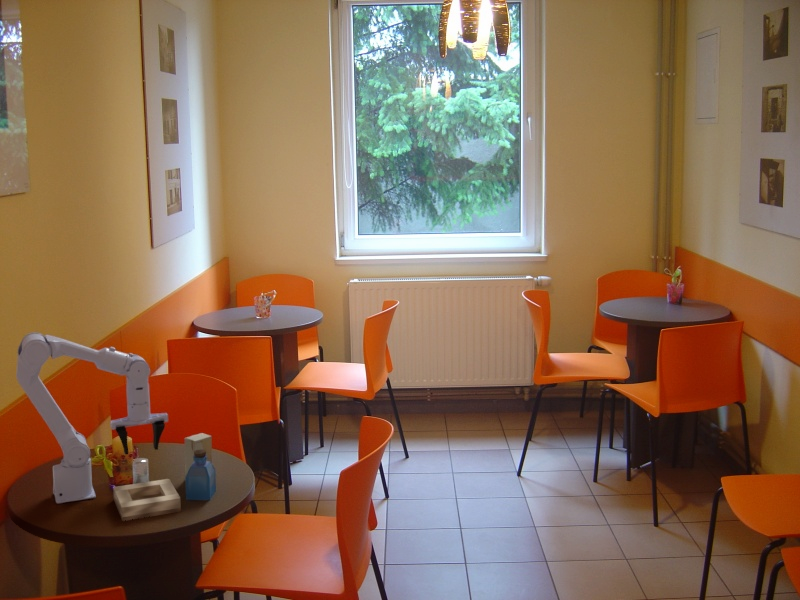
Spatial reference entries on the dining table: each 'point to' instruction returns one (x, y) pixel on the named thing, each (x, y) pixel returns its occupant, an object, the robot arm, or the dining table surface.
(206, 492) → the perfume bottle
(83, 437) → the robot arm
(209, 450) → the skincare box
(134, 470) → the metal pin
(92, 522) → the dining table surface
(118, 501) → the socket block
